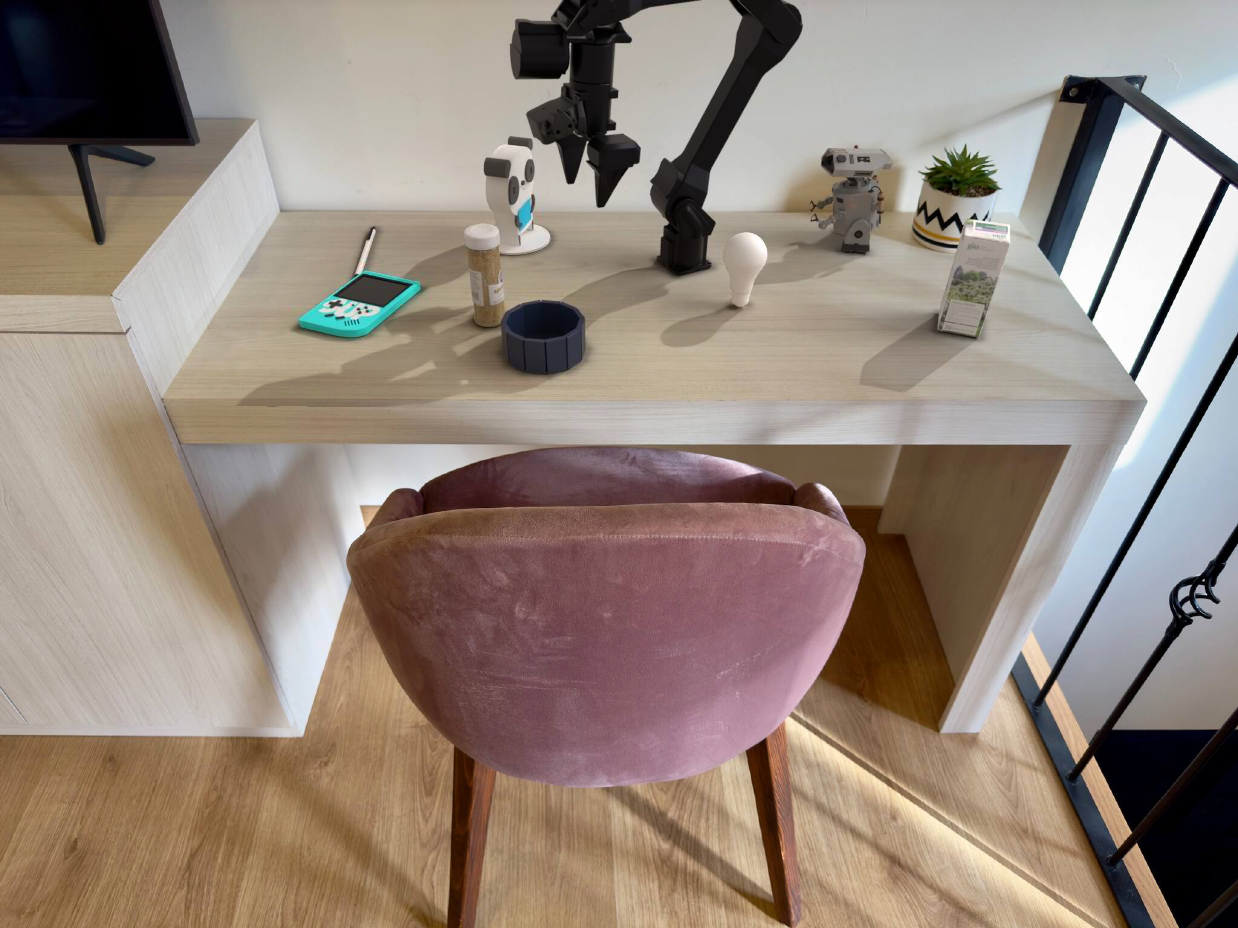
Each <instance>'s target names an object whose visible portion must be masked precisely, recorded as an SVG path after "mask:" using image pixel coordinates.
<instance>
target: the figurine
mask: <svg viewBox="0 0 1238 928" xmlns="http://www.w3.org/2000/svg"><path fill="white" fill-rule="evenodd" d="M820 158H821V159H820V167H821V168H822V169H823V170H824V171H825V172H826V173H827V174H828V175H829V176H830V177H832V178H846V179H844V180H840V181H838V182H834V183H833V184H832V187H831V193H832V196H831V195H827V196H826V197H825V198H824V199H823V200H821V199H820V200H818V201H817V203H814V201H813V200H812V199H811V200H810V202H809V205H811V204H812V208H809V210H810V212H813V211H814V209H815V208H817V209H818V210H820V211H822V210H823V209H824V208H825V207H827V206H828V205H832V214H830V215H829V216H828V218H826V219H825V220H821V219H820V218H818V216H817V214H816V213H814V214H813V215H812V216H811V217H810V220H809V221H810V223H813V222H817V223H818V225H817V227H818V229H820V230H821V231H824V230H825V229H827V227H828V226H830V225H831V224H832V227H833V230H834V233H837V234H841V235H844V240H843V241H842V243H841V246H840V248H841V251H842V252H843V253H850V254H852V253H853V252H856V253H857V254H861V253H862V254H864V255H865V254H866V253H868V252H870V250H871V249H870V247H871V245H870V242H871V241H870V240H871V233H872V232H874V231H875V230H877V229H879V227H880V226H879V225H881V224H882V215H883V214H884V213H885V209H884V208H885V205H884V204H885V202H884V201H885V193H884V191H882V190H881V188H880V186H879V176H878V175H877V174H878V173H880V172H881V171H882V170H890V169H891V168H892V166H893V164H894V161H893V159H892V158H891V156H889V154H888V153H887V152H885V150H883V149H882V148H859V144H855V145H854V147H853V148H852V147H851V148H848V147H847V148H846V147H843V148H841V147H828V148H827V149H826V150H825V152H824V153H823V154H822V155H821V157H820ZM814 217H815V218H814ZM813 218H814V219H813Z"/></svg>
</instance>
